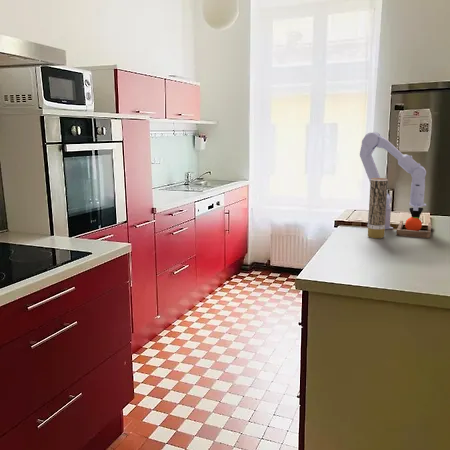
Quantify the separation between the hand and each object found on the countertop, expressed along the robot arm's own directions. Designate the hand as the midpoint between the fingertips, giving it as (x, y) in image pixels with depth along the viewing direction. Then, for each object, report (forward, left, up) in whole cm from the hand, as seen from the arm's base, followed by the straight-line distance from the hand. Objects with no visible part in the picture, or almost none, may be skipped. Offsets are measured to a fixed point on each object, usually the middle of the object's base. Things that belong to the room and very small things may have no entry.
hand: (415, 223), depth 213 cm
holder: (-1, -2, -3) cm, 4 cm away
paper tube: (-22, -9, -3) cm, 24 cm away
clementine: (-2, -4, -3) cm, 5 cm away
